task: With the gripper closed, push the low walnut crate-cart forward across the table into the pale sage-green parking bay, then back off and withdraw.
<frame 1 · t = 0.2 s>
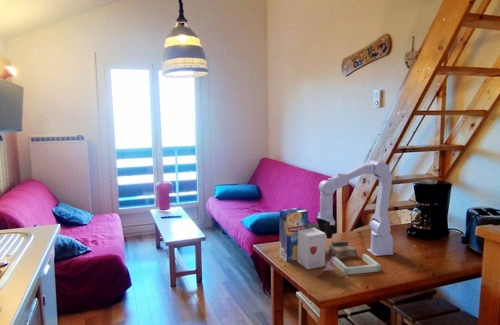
hand: (325, 235, 168), 10 cm above the table, fingers open, 7 cm apart
supplement box: (310, 264, 161), on the table
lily: (328, 276, 150), on the table
bay: (355, 265, 159), on the table
beverage box: (293, 257, 169), on the table
cart: (342, 255, 171), on the table
jar: (310, 249, 178), on the table
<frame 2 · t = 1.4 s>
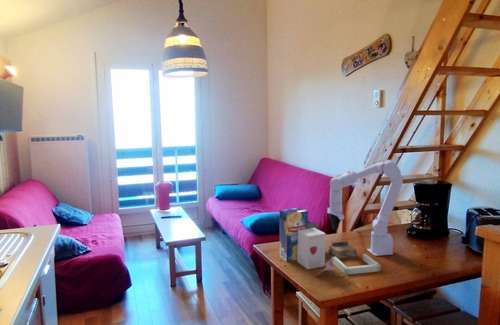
hand: (335, 229, 178), 9 cm above the table, fingers closed
nothing on the table moved.
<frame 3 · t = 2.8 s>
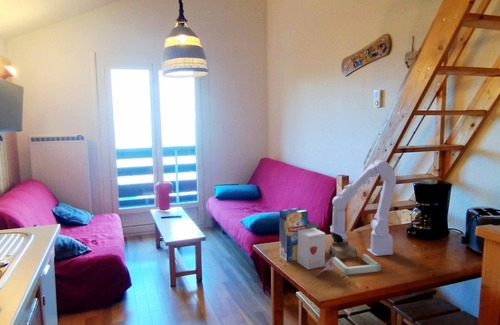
hand: (337, 248, 175), 1 cm above the table, fingers closed
cart: (342, 255, 171), on the table, touching gripper
everything else where it was.
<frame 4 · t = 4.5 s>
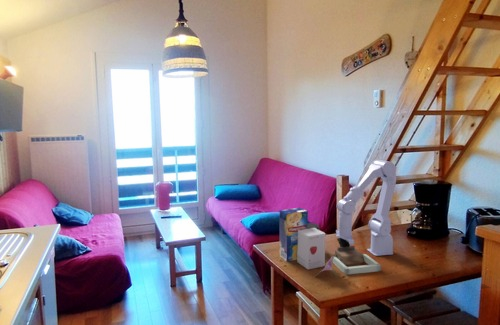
hand: (344, 254, 169), 1 cm above the table, fingers closed
cart: (348, 261, 164), on the table, touching gripper
everything else where it was.
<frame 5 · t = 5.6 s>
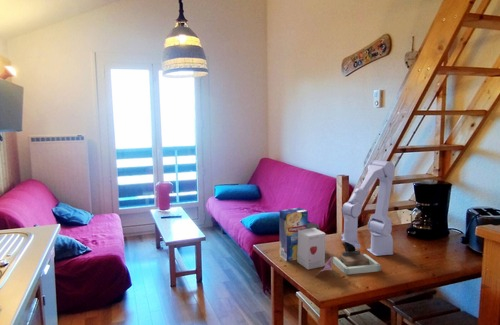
hand: (349, 258, 164), 1 cm above the table, fingers closed
cart: (354, 266, 159), on the table, touching gripper
everything else where it was.
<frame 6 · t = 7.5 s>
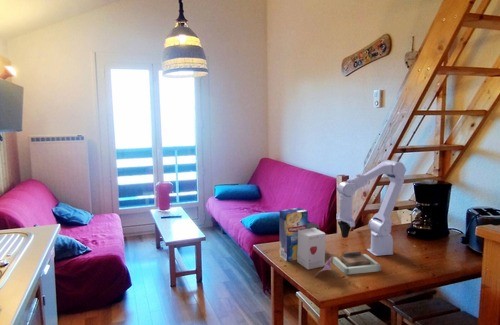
hand: (344, 237, 168), 9 cm above the table, fingers closed
cart: (354, 267, 158), on the table
everything else where it was.
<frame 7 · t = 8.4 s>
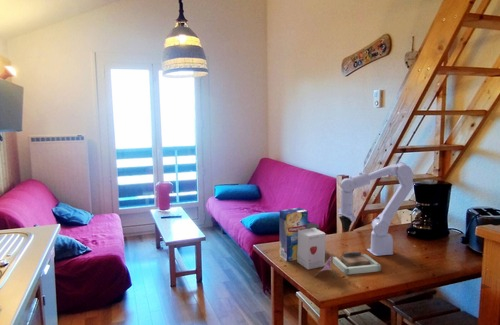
hand: (345, 231, 175), 9 cm above the table, fingers closed
nothing on the table moved.
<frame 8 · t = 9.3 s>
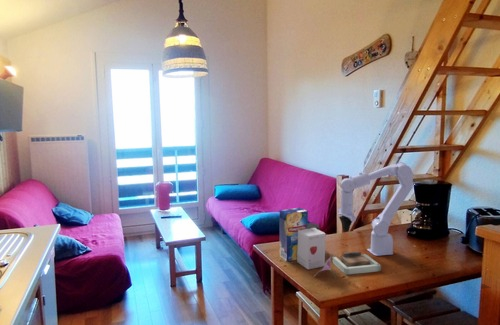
hand: (345, 231, 175), 9 cm above the table, fingers closed
at the end: cart inside the target area (0.9 cm from its centre), on the table; cart tilted 0°; cart touching table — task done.
